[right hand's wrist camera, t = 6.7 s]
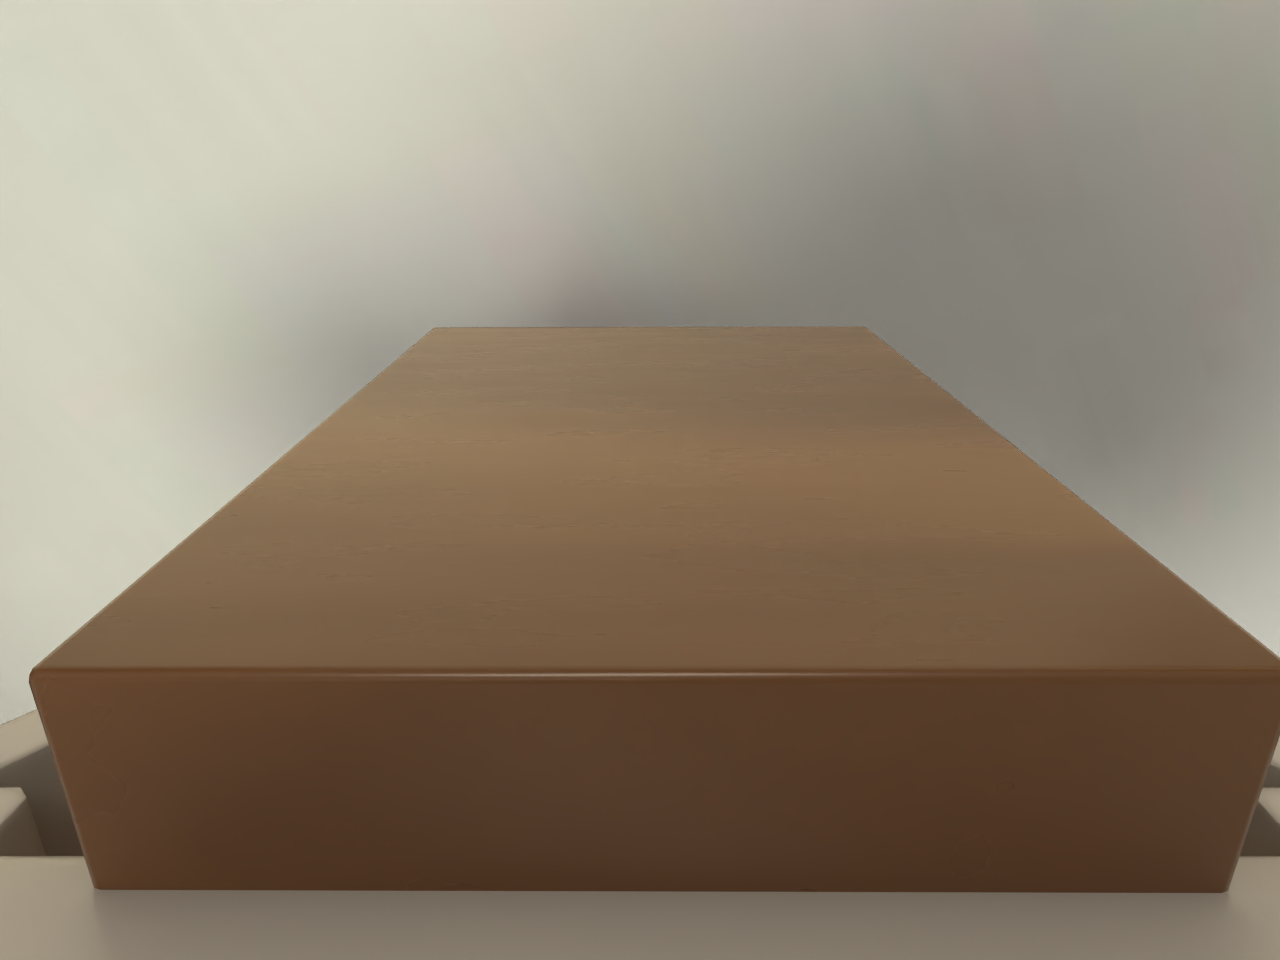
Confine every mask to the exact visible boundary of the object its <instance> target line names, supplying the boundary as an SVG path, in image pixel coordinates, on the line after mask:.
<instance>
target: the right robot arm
mask: <svg viewBox="0 0 1280 960" xmlns="http://www.w3.org/2000/svg"><path fill="white" fill-rule="evenodd" d="M0 960H1280V737H1279V740H1278V743H1277V746H1276V749H1275V752H1274V755H1273V758H1272V761H1271V764H1270V767H1269V770H1268V772H1267V775H1266V778H1265V781H1264V784H1263V787H1262V790H1261V793H1260V796H1259V799H1258V802H1257V805H1256V808H1255V811H1254V814H1253V817H1252V820H1251V823H1250V826H1249V829H1248V832H1247V835H1246V838H1245V841H1244V844H1243V847H1242V850H1241V853H1240V856H1239V859H1238V862H1237V865H1236V868H1235V871H1234V874H1233V877H1232V880H1231V883H1230V886H1229V889H1228V891H1226V892H1223V893H1019V892H665V891H314V890H99V889H97V888H94V886H93V883H92V880H91V877H90V874H89V871H88V867H87V864H86V861H85V858H84V855H83V852H82V848H81V845H80V842H79V839H78V836H77V833H76V830H75V826H74V823H73V820H72V817H71V814H70V811H69V807H68V804H67V801H66V798H65V795H64V792H63V788H62V785H61V782H60V779H59V776H58V773H57V769H56V766H55V763H54V760H53V757H52V754H51V750H50V747H49V744H48V741H47V738H46V735H45V732H44V728H43V725H42V722H41V719H40V716H39V713H38V709H36V710H34V711H32V712H29V713H27V714H25V715H23V716H20V717H18V718H16V719H13V720H11V721H9V722H6V723H4V724H2V725H0Z"/></svg>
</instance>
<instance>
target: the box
mask: <svg viewBox="0 0 1280 960" xmlns="http://www.w3.org/2000/svg"><path fill="white" fill-rule="evenodd" d="M29 684H30V687H31V690H32V694H33V697H34V700H35V703H36V706H37V709H38V713H39V716H40V719H41V722H42V725H43V728H44V732H45V735H46V738H47V741H48V744H49V747H50V750H51V754H52V757H53V760H54V763H55V766H56V769H57V773H58V776H59V779H60V782H61V785H62V788H63V792H64V795H65V798H66V801H67V804H68V807H69V811H70V814H71V817H72V820H73V823H74V826H75V830H76V833H77V836H78V839H79V842H80V845H81V848H82V852H83V855H84V858H85V861H86V864H87V867H88V871H89V874H90V877H91V880H92V883H93V886H94V888H97V889H99V890H314V891H665V892H1019V893H1223V892H1226V891H1228V889H1229V886H1230V883H1231V880H1232V877H1233V874H1234V871H1235V868H1236V865H1237V862H1238V859H1239V856H1240V853H1241V850H1242V847H1243V844H1244V841H1245V838H1246V835H1247V832H1248V829H1249V826H1250V823H1251V820H1252V817H1253V814H1254V811H1255V808H1256V805H1257V802H1258V799H1259V796H1260V793H1261V790H1262V787H1263V784H1264V781H1265V778H1266V775H1267V772H1268V770H1269V767H1270V764H1271V761H1272V758H1273V755H1274V752H1275V749H1276V746H1277V743H1278V740H1279V737H1280V658H1279V657H1278V656H1277V655H1276V654H1274V653H1273V652H1272V651H1271V650H1269V649H1268V648H1267V647H1266V646H1264V645H1263V644H1262V643H1261V642H1259V641H1258V640H1257V639H1256V638H1254V637H1253V636H1252V635H1251V634H1249V633H1248V632H1247V631H1246V630H1244V629H1243V628H1242V627H1241V626H1239V625H1238V624H1237V623H1236V622H1234V621H1233V620H1232V619H1231V618H1229V617H1228V616H1227V615H1226V614H1224V613H1223V612H1222V611H1221V610H1219V609H1218V608H1217V607H1216V606H1214V605H1213V604H1212V603H1211V602H1209V601H1208V600H1207V599H1206V598H1204V597H1203V596H1202V595H1201V594H1199V593H1198V592H1197V591H1196V590H1194V589H1193V588H1192V587H1191V586H1189V585H1188V584H1187V583H1185V582H1184V581H1183V580H1182V579H1180V578H1179V577H1178V576H1177V575H1175V574H1174V573H1173V572H1172V571H1170V570H1169V569H1168V568H1167V567H1165V566H1164V565H1163V564H1162V563H1160V562H1159V561H1158V560H1157V559H1155V558H1154V557H1153V556H1152V555H1150V554H1149V553H1148V552H1147V551H1145V550H1144V549H1143V548H1142V547H1140V546H1139V545H1138V544H1137V543H1135V542H1134V541H1133V540H1132V539H1130V538H1129V537H1128V536H1127V535H1125V534H1124V533H1123V532H1122V531H1120V530H1119V529H1118V528H1117V527H1115V526H1114V525H1113V524H1112V523H1110V522H1109V521H1108V520H1107V519H1105V518H1104V517H1103V516H1102V515H1100V514H1099V513H1098V512H1097V511H1095V510H1094V509H1093V508H1092V507H1090V506H1089V505H1088V504H1087V503H1085V502H1084V501H1083V500H1082V499H1080V498H1079V497H1078V496H1077V495H1075V494H1074V493H1073V492H1072V491H1070V490H1069V489H1068V488H1067V487H1065V486H1064V485H1063V484H1062V483H1060V482H1059V481H1058V480H1056V479H1055V478H1054V477H1053V476H1051V475H1050V474H1049V473H1048V472H1046V471H1045V470H1044V469H1043V468H1041V467H1040V466H1039V465H1038V464H1036V463H1035V462H1034V461H1033V460H1031V459H1030V458H1029V457H1028V456H1026V455H1025V454H1024V453H1023V452H1021V451H1020V450H1019V449H1018V448H1016V447H1015V446H1014V445H1013V444H1011V443H1010V442H1009V441H1008V440H1006V439H1005V438H1004V437H1003V436H1001V435H1000V434H999V433H998V432H996V431H995V430H994V429H993V428H991V427H990V426H989V425H988V424H986V423H985V422H984V421H983V420H981V419H980V418H979V417H978V416H976V415H975V414H974V413H973V412H971V411H970V410H969V409H968V408H966V407H965V406H964V405H963V404H961V403H960V402H959V401H958V400H956V399H955V398H954V397H953V396H951V395H950V394H949V393H948V392H946V391H945V390H944V389H943V388H941V387H940V386H939V385H938V384H936V383H935V382H934V381H933V380H931V379H930V378H929V377H928V376H926V375H925V374H924V373H922V372H921V371H920V370H919V369H917V368H916V367H915V366H914V365H912V364H911V363H910V362H909V361H907V360H906V359H905V358H904V357H902V356H901V355H900V354H899V353H897V352H896V351H895V350H894V349H892V348H891V347H890V346H889V345H887V344H886V343H885V342H884V341H882V340H881V339H880V338H879V337H877V336H876V335H875V334H874V333H872V332H871V331H870V330H869V329H867V328H865V327H462V328H434V329H432V330H431V331H430V332H429V333H428V334H426V335H425V336H424V337H423V338H422V339H420V340H419V341H418V342H417V343H416V344H415V345H413V346H412V347H411V348H410V349H409V350H408V351H406V352H405V353H404V354H403V355H402V356H400V357H399V358H398V359H397V360H396V361H395V362H393V363H392V364H391V365H390V366H389V367H387V368H386V369H385V370H384V371H383V372H382V373H380V374H379V375H378V376H377V377H376V378H375V379H373V380H372V381H371V382H370V383H369V384H367V385H366V386H365V387H364V388H363V389H362V390H360V391H359V392H358V393H357V394H356V395H354V396H353V397H352V398H351V399H350V400H349V401H347V402H346V403H345V404H344V405H343V406H342V407H340V408H339V409H338V410H337V411H336V412H334V413H333V414H332V415H331V416H330V417H329V418H327V419H326V420H325V421H324V422H323V423H321V424H320V425H319V426H318V427H317V428H316V429H314V430H313V431H312V432H311V433H310V434H309V435H307V436H306V437H305V438H304V439H303V440H301V441H300V442H299V443H298V444H297V445H296V446H294V447H293V448H292V449H291V450H290V451H288V452H287V453H286V454H285V455H284V456H283V457H281V458H280V459H279V460H278V461H277V462H275V463H274V464H273V465H272V466H271V467H270V468H268V469H267V470H266V471H265V472H264V473H263V474H261V475H260V476H259V477H258V478H257V479H255V480H254V481H253V482H252V483H251V484H250V485H248V486H247V487H246V488H245V489H244V490H242V491H241V492H240V493H239V494H238V495H237V496H235V497H234V498H233V499H232V500H231V501H230V502H228V503H227V504H226V505H225V506H224V507H222V508H221V509H220V510H219V511H218V512H217V513H215V514H214V515H213V516H212V517H211V518H209V519H208V520H207V521H206V522H205V523H204V524H202V525H201V526H200V527H199V528H198V529H197V530H195V531H194V532H193V533H192V534H191V535H189V536H188V537H187V538H186V539H185V540H184V541H182V542H181V543H180V544H179V545H178V546H176V547H175V548H174V549H173V550H172V551H171V552H169V553H168V554H167V555H166V556H165V557H164V558H162V559H161V560H160V561H159V562H158V563H156V564H155V565H154V566H153V567H152V568H151V569H149V570H148V571H147V572H146V573H145V574H143V575H142V576H141V577H140V578H139V579H138V580H136V581H135V582H134V583H133V584H132V585H131V586H129V587H128V588H127V589H126V590H125V591H123V592H122V593H121V594H120V595H119V596H118V597H116V598H115V599H114V600H113V601H112V602H110V603H109V604H108V605H107V606H106V607H105V608H103V609H102V610H101V611H100V612H99V613H98V614H96V615H95V616H94V617H93V618H92V619H90V620H89V621H88V622H87V623H86V624H85V625H83V626H82V627H81V628H80V629H79V630H77V631H76V632H75V633H74V634H73V635H72V636H70V637H69V638H68V639H67V640H66V641H64V642H63V643H62V644H61V645H60V646H59V647H57V648H56V649H55V650H54V651H53V652H52V653H50V654H49V655H48V656H47V657H46V658H44V659H43V660H42V661H41V662H40V663H39V664H37V665H36V666H35V667H34V668H33V669H32V671H31V673H30V676H29Z"/></svg>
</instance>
